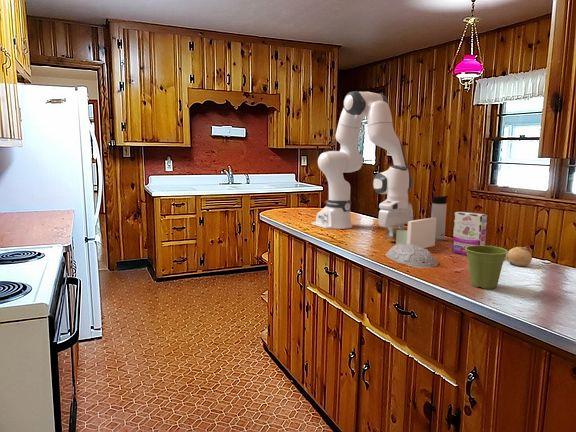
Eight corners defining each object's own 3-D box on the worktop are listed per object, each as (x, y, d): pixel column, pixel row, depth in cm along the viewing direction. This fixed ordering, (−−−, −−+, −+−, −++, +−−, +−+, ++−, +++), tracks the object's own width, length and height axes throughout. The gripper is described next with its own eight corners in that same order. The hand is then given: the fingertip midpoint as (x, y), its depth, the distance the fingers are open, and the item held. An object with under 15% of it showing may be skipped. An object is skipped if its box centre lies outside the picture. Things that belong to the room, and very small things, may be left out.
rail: (385, 238, 194) (386, 226, 193) (390, 237, 196) (391, 225, 195) (412, 244, 183) (413, 231, 182) (417, 243, 186) (418, 230, 185)
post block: (391, 247, 183) (392, 218, 181) (416, 242, 195) (417, 215, 193) (409, 251, 176) (411, 221, 174) (434, 245, 188) (436, 217, 186)
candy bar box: (484, 256, 170) (488, 214, 167) (478, 258, 167) (481, 215, 164) (457, 251, 178) (460, 210, 176) (451, 252, 175) (454, 211, 172)
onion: (510, 267, 155) (512, 247, 154) (502, 261, 162) (504, 242, 161) (534, 268, 154) (536, 248, 153) (525, 262, 161) (527, 243, 160)
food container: (414, 268, 150) (416, 249, 149) (374, 255, 173) (376, 238, 173) (450, 269, 156) (452, 250, 155) (407, 256, 179) (408, 240, 178)
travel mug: (446, 241, 196) (449, 196, 193) (430, 240, 198) (433, 196, 194) (444, 238, 202) (446, 195, 199) (429, 238, 204) (431, 194, 201)
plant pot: (479, 277, 141) (482, 243, 140) (513, 288, 131) (517, 251, 129) (453, 282, 136) (456, 247, 134) (487, 294, 125) (490, 255, 124)
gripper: (405, 201, 199) (403, 231, 201) (376, 204, 186) (375, 236, 188) (417, 202, 194) (415, 233, 196) (388, 206, 181) (387, 239, 183)
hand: (395, 235), depth 192 cm, fingers closed on rail, 4 cm apart
